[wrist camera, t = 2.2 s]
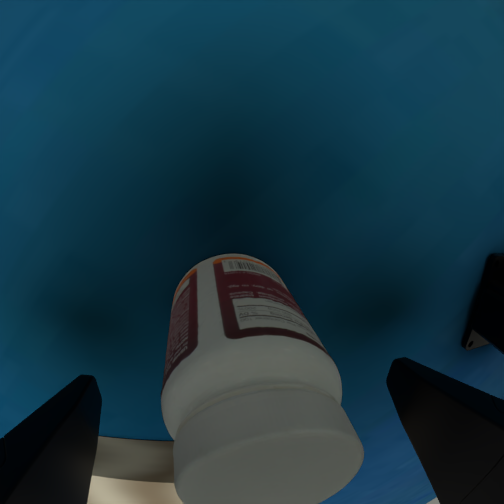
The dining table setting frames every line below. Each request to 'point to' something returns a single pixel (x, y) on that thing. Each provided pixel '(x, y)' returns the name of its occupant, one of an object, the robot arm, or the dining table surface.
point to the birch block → (133, 472)
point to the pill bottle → (251, 392)
